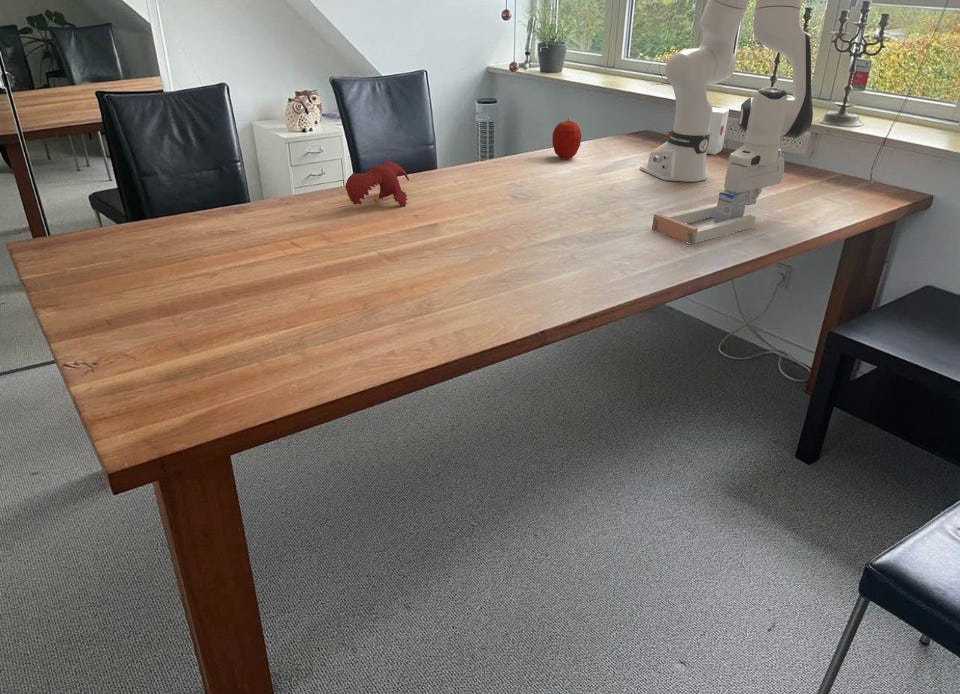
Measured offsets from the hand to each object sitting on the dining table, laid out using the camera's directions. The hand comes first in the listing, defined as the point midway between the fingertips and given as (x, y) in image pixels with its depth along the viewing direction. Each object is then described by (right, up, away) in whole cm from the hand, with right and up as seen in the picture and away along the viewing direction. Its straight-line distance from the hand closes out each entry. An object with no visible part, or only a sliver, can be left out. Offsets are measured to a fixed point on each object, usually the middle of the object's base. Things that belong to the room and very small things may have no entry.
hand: (749, 204), depth 192 cm
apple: (-44, +27, +56) cm, 76 cm away
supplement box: (+11, +34, +68) cm, 77 cm away
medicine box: (-6, -5, -2) cm, 9 cm away
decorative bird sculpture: (-101, +2, +9) cm, 101 cm away
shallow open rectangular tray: (-15, -8, -7) cm, 18 cm away
